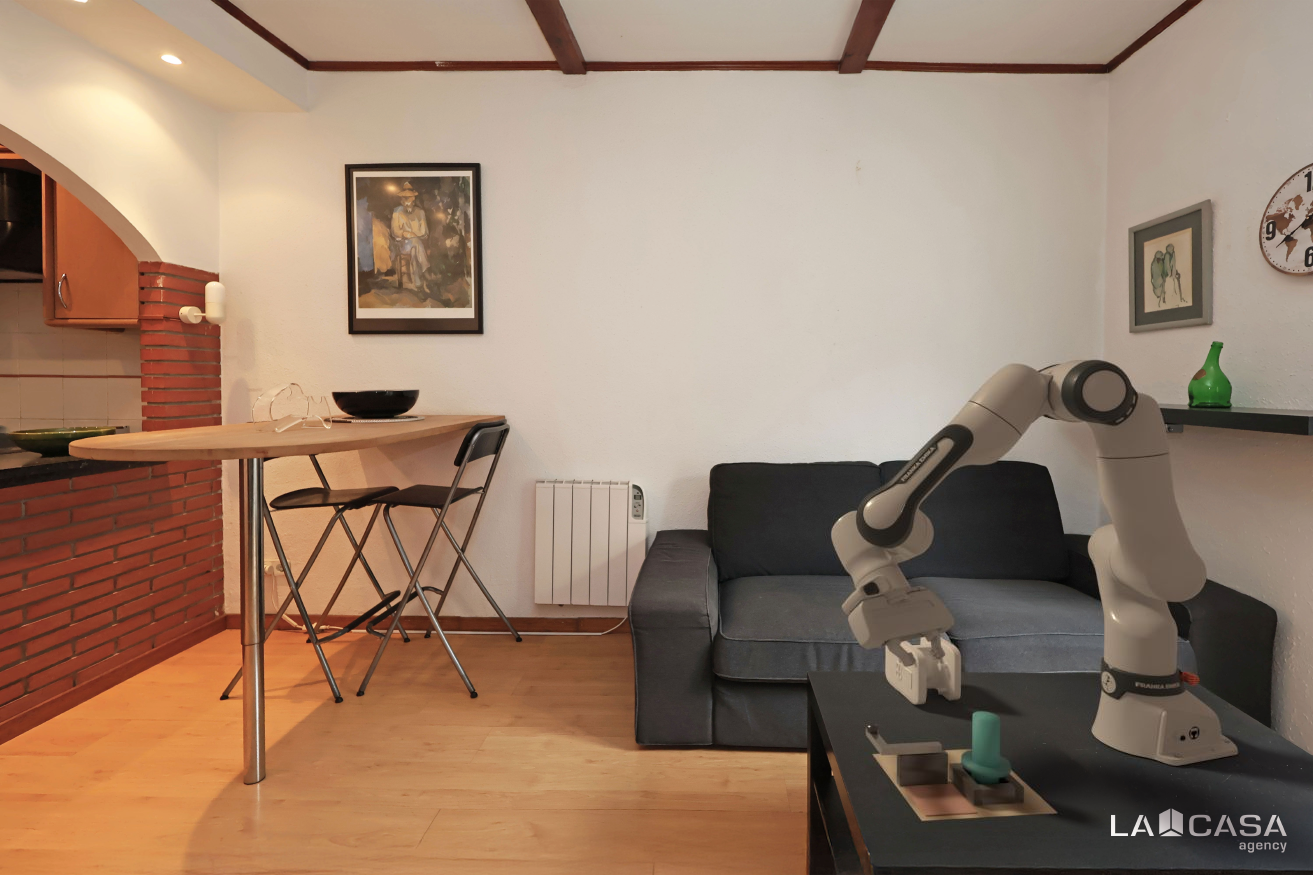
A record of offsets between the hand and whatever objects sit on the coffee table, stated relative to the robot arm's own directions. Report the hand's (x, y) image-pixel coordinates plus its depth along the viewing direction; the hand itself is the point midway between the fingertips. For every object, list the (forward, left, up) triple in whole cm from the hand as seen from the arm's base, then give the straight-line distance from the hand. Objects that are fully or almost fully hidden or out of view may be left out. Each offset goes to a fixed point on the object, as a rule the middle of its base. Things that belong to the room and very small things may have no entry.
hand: (925, 661), depth 126 cm
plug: (-5, +12, -17) cm, 21 cm away
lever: (+6, +6, -12) cm, 14 cm away
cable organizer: (-12, -27, -18) cm, 35 cm away
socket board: (-2, +9, -18) cm, 20 cm away
